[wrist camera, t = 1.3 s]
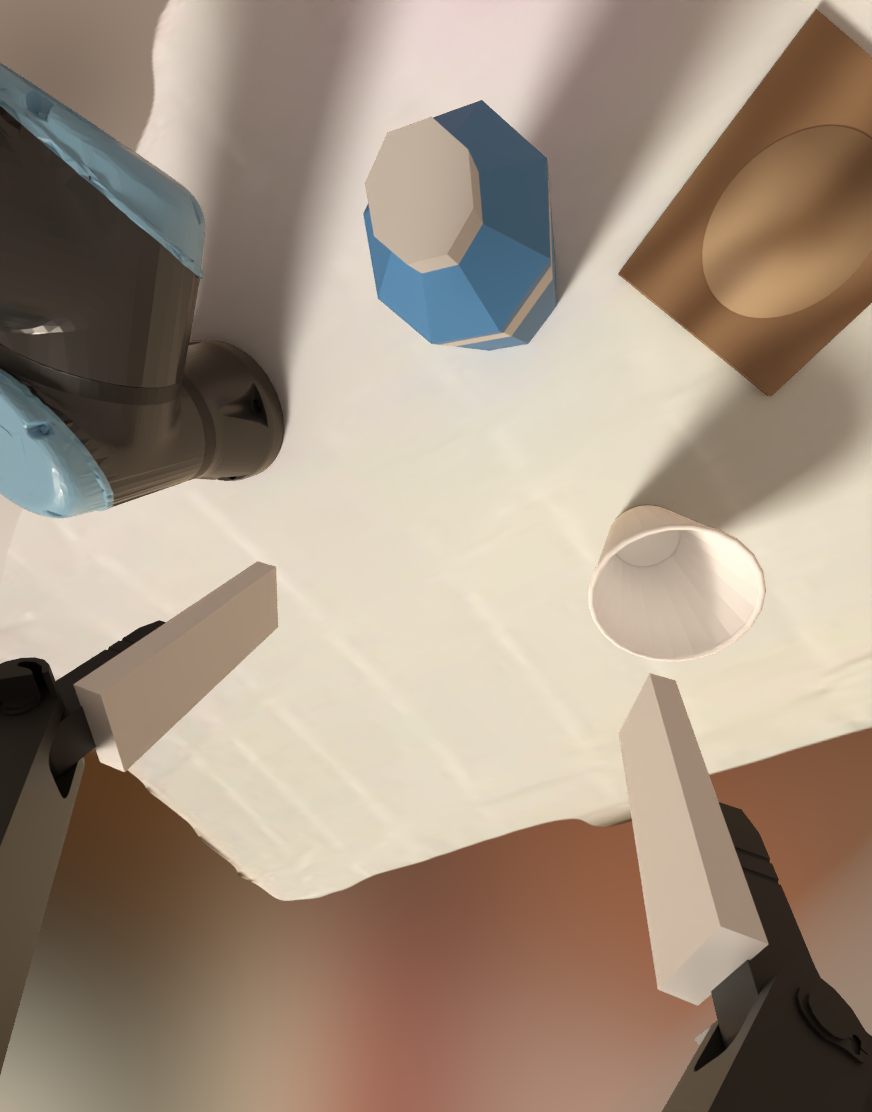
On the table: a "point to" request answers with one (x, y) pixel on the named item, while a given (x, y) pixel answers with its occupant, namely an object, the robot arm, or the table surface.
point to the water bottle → (463, 230)
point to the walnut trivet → (775, 217)
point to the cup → (673, 586)
